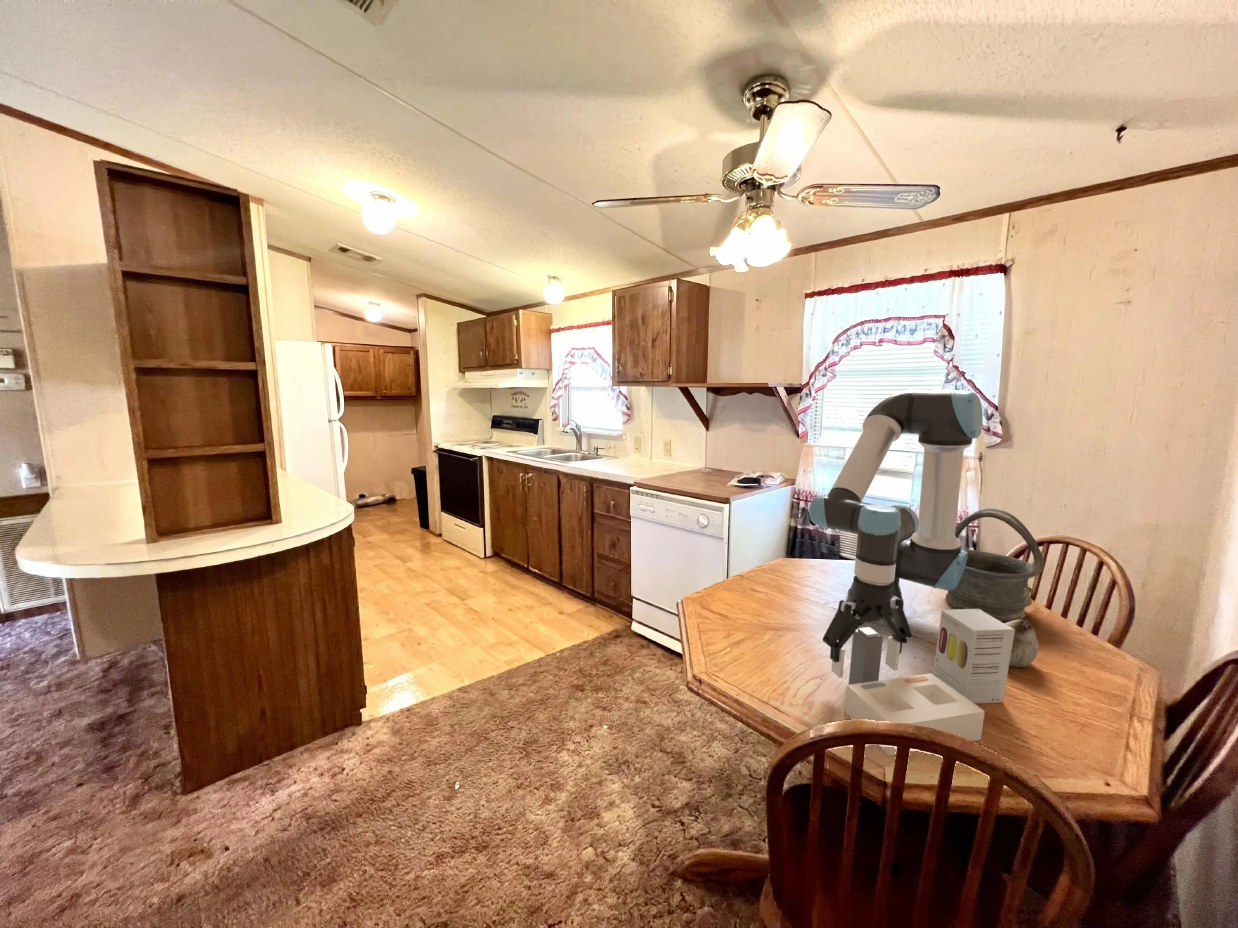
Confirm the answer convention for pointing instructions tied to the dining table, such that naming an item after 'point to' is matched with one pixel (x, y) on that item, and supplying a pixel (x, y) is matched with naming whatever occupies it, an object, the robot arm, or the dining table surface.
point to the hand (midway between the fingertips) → (864, 670)
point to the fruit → (1023, 643)
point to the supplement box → (973, 654)
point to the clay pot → (996, 575)
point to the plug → (865, 656)
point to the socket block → (915, 705)
